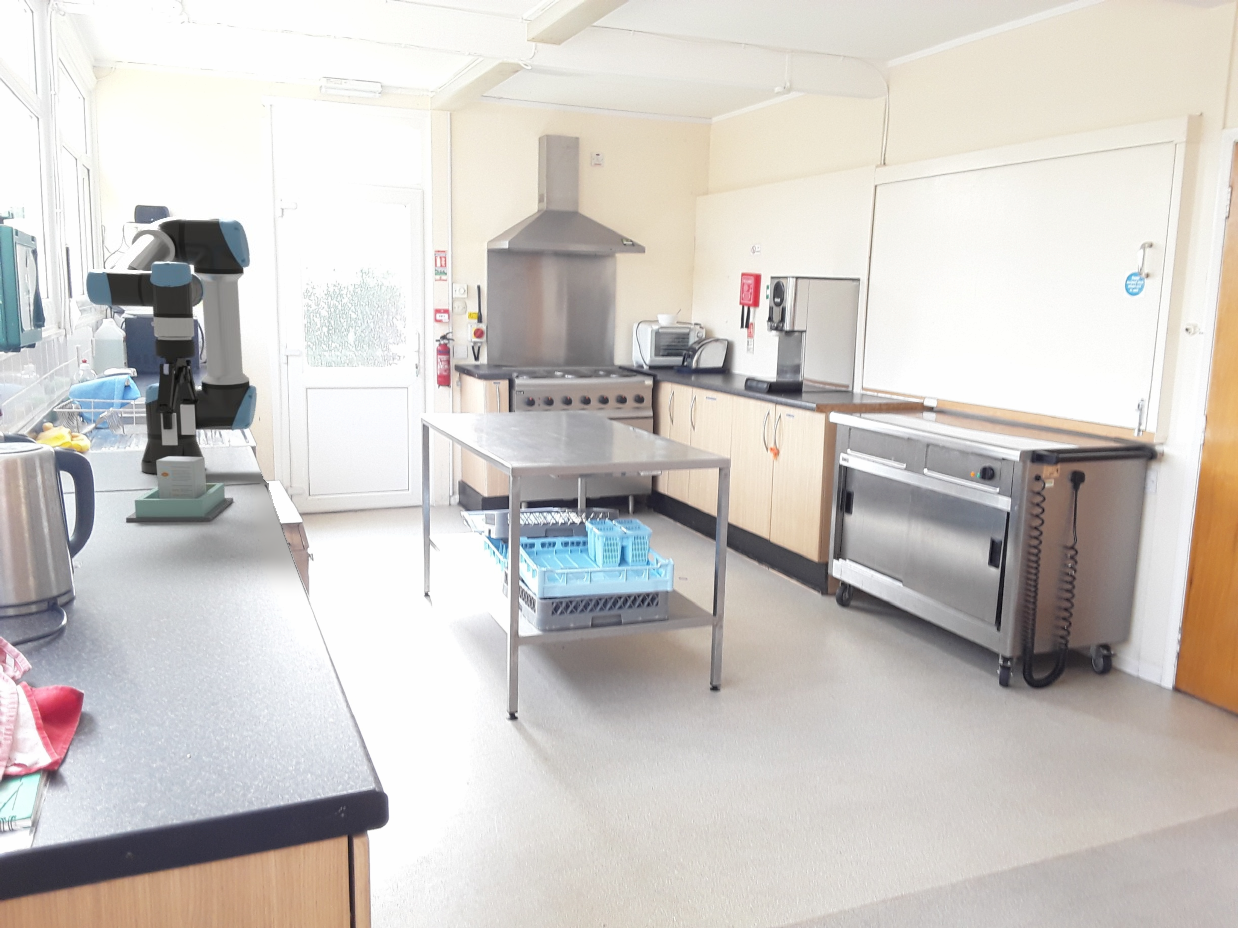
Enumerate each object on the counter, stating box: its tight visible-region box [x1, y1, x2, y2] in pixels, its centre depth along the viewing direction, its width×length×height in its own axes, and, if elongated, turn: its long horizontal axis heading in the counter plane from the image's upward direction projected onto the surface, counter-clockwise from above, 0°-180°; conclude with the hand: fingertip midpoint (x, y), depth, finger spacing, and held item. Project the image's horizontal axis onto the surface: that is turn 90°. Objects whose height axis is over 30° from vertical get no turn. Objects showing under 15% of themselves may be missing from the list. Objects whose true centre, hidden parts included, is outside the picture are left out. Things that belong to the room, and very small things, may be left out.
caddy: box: [125, 482, 234, 523], centre depth 201 cm, size 20×16×4 cm
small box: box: [156, 456, 207, 499], centre depth 201 cm, size 8×6×10 cm
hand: (179, 439), depth 199 cm, fingers open, 13 cm apart
